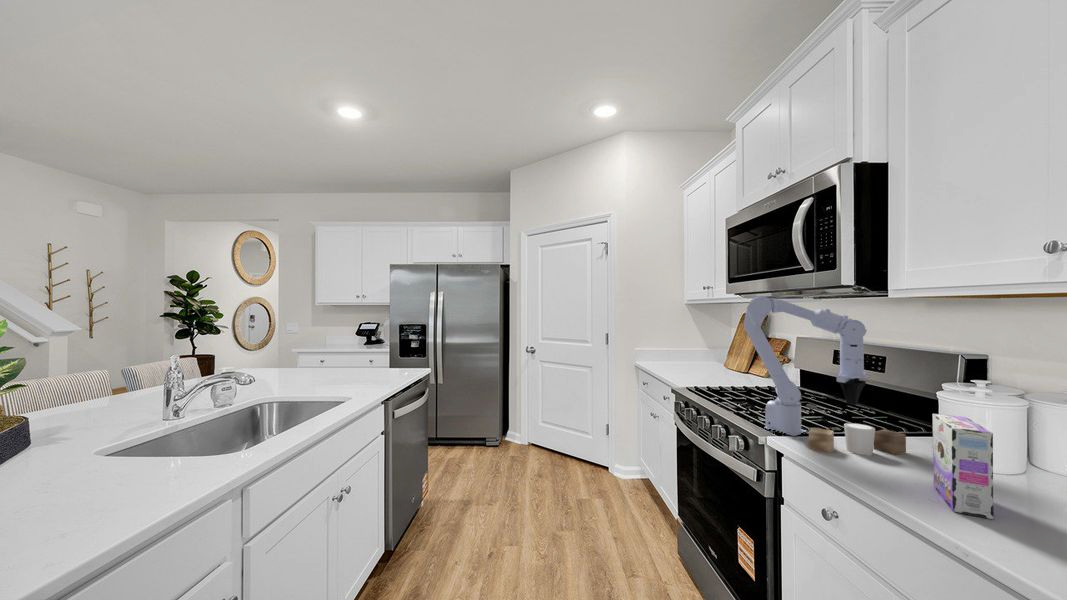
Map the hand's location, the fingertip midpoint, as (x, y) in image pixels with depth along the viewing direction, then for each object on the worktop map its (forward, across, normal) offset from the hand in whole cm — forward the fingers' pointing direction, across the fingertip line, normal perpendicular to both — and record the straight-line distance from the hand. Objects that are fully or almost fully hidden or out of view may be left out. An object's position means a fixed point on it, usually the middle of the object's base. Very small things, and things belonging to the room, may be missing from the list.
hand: (852, 404), depth 125 cm
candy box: (+11, -28, -30) cm, 42 cm away
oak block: (+10, -18, 0) cm, 20 cm away
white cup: (+11, -11, -6) cm, 16 cm away
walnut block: (+10, -3, -10) cm, 15 cm away
